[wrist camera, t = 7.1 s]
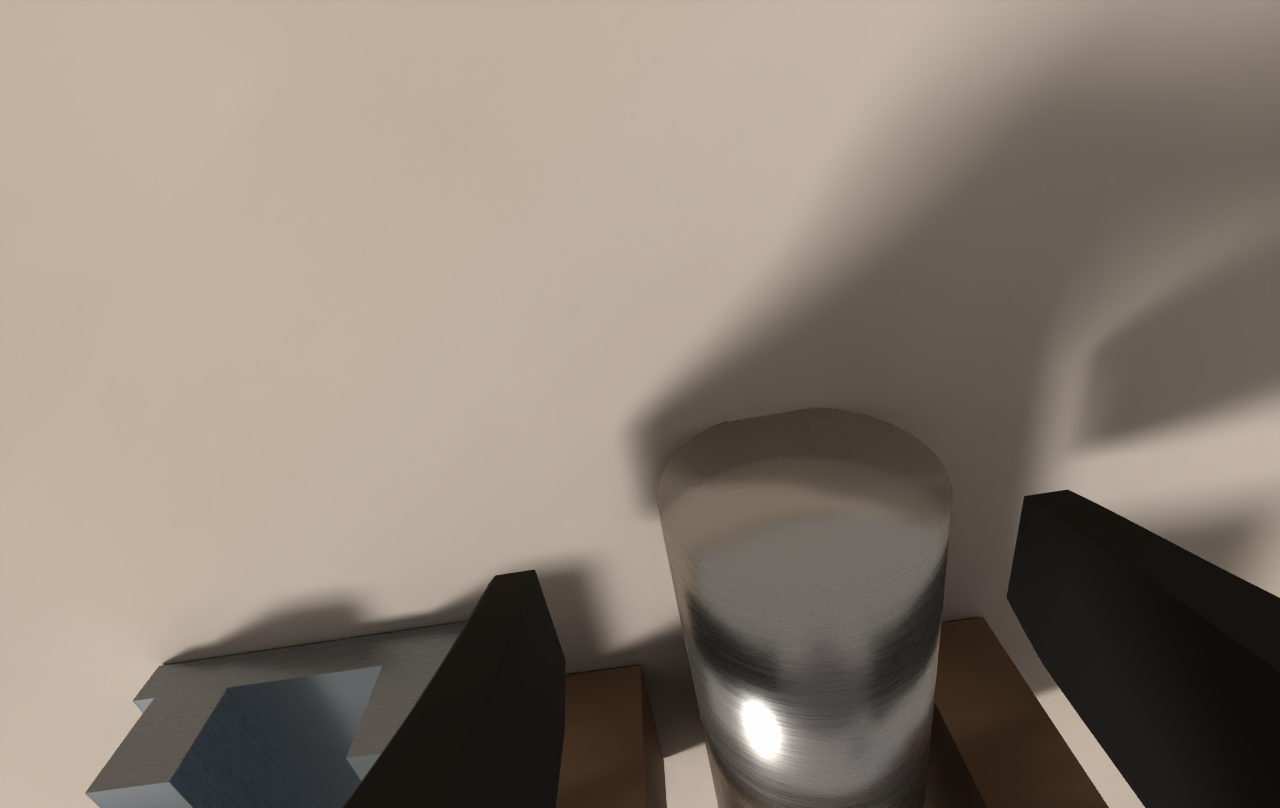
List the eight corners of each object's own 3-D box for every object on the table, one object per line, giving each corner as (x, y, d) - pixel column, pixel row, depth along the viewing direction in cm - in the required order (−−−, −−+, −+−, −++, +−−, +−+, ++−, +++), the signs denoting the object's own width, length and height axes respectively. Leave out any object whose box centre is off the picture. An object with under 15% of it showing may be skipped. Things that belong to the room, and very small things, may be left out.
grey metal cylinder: (632, 444, 10) (702, 626, 7) (855, 386, 11) (1027, 530, 7) (705, 782, 15) (767, 990, 12) (857, 733, 16) (960, 920, 12)
